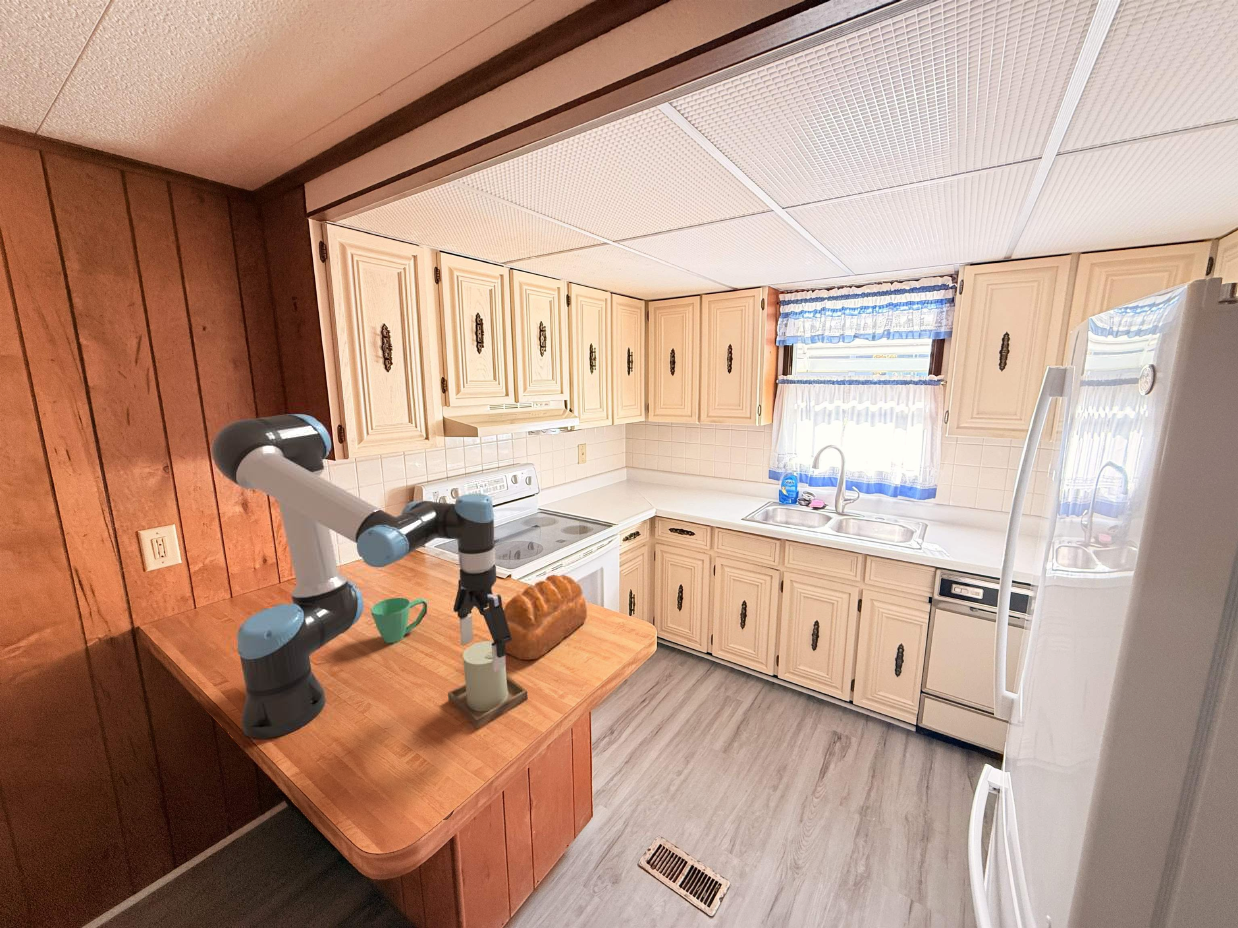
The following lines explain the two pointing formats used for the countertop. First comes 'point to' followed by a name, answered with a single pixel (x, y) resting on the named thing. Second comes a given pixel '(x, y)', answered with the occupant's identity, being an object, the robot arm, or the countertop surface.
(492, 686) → the can
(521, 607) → the bread
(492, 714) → the tray
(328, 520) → the robot arm
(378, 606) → the mug
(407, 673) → the countertop surface
